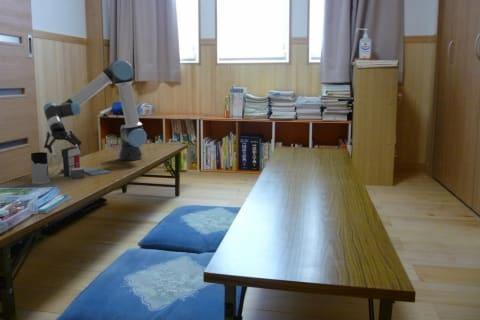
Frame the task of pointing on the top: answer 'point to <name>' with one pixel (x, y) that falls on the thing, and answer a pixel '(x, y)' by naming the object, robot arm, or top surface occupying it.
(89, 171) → the rubber mat
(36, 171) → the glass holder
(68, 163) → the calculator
